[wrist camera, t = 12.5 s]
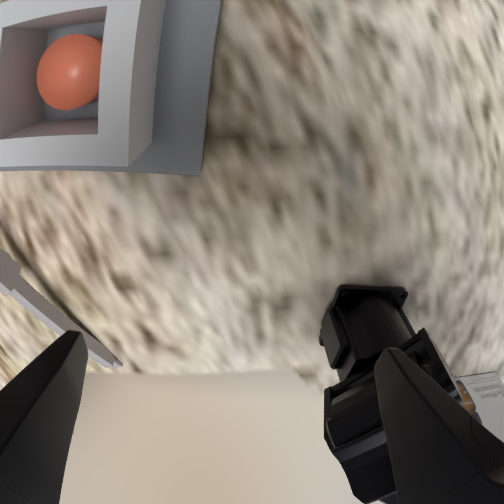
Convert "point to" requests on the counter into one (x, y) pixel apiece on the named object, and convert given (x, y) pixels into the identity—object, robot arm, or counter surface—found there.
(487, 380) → the skincare box
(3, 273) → the caliper
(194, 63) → the grey square holder
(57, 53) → the button
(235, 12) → the counter surface
